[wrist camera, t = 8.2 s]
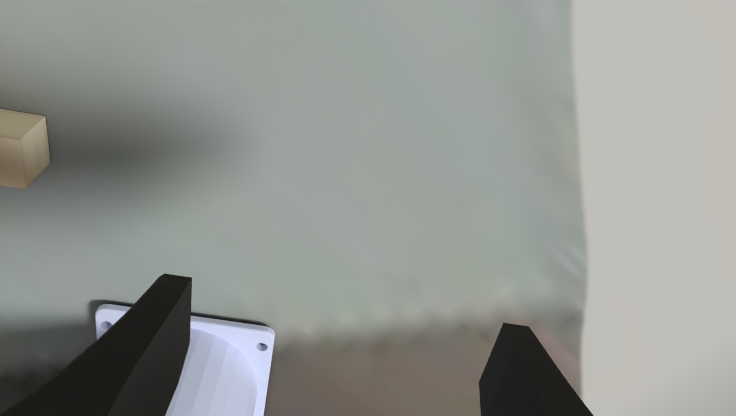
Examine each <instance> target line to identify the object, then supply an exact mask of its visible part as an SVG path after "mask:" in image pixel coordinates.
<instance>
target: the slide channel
mask: <svg viewBox="0 0 736 416" xmlns="http://www.w3.org/2000/svg"><path fill="white" fill-rule="evenodd" d="M49 164H50V154H49V144H48V135H47V126H46V117H45V116H42V115H36V114H30V113H24V112H18V111H12V110H6V109H0V186H7V187H13V188H20V189H26V188H27V187H28V186H29V185H30V184H31V183H32V182H33V181H34V180H35V179H36V178H37V177H38V176H39V175H40V174H41V173H42V171H43V170H44V169H45V168H46V167H47V166H48V165H49Z"/></svg>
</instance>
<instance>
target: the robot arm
mask: <svg viewBox="0 0 736 416" xmlns="http://www.w3.org/2000/svg"><path fill="white" fill-rule="evenodd" d="M191 290H192V278H190V277H183V276H177V275H170V274H163V275H161V276H160V277H159V278H158V279H157V280H156V281H155V282H154V283H153V285H152V286H151V287H150V288H149V289H148V290H147V291H146V292H145V293H144V294H143V295H142V296H141V298H140V299H139V300H138V301H137V302H136V303H135V304H134V305H133V306H132V307H126V306H119V305H112V304H103V305H100V306H99V307H98V309H97V311H96V313H95V321H96V334H97V340H96V341H95V342H94V343H93V344H92V345H91V346H90V347H88V348H87V349H86V350H85V351H84V352H83V353H81V354H80V355H79V356H78V357H77V358H76V359H74V360H73V361H72V362H71V363H70V364H68V365H67V366H66V367H65V368H64V369H62V370H61V371H60V372H58V373H57V374H56V375H55V376H53V377H52V378H51V379H49V380H48V381H47V382H46V383H44V384H43V385H41V386H40V387H39V388H37V389H36V390H35V391H33V392H32V393H30V394H29V395H28V396H26V397H25V398H23V399H22V400H20V401H19V402H17V403H16V404H14V405H13V406H11V407H10V408H8V409H7V410H5V411H4V412H2V413H1V414H0V416H263V415H264V408H265V401H266V394H267V387H268V380H269V373H270V366H271V359H272V352H273V345H274V338H275V333H274V331H273V330H272V329H271V328H269V327H266V326H261V325H254V324H246V323H239V322H232V321H225V320H218V319H211V318H204V317H197V316H191ZM105 321H107V322H110V323H111V324H109V323H107V322H105ZM259 343H264V344H266V345H261V344H259ZM479 389H480V406H481V416H593V414H592V413H591V412H590V411H589V409H588V408H587V407H586V406H585V404H584V403H583V402H582V400H581V399H580V398H579V396H578V395H577V394H576V392H575V391H574V390H573V388H572V387H571V386H570V384H569V383H568V381H567V380H566V379H565V377H564V376H563V375H562V373H561V372H560V370H559V369H558V368H557V366H556V365H555V363H554V362H553V360H552V359H551V358H550V356H549V355H548V353H547V352H546V350H545V349H544V348H543V346H542V345H541V343H540V342H539V340H538V339H537V337H536V336H535V335H534V333H533V332H532V330H531V329H530V328H529V327H528V326H522V325H515V324H508V323H503V325H502V328H501V330H500V333H499V335H498V337H497V340H496V342H495V345H494V347H493V350H492V352H491V354H490V357H489V359H488V362H487V364H486V366H485V369H484V371H483V374H482V376H481V379H480V381H479Z"/></svg>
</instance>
